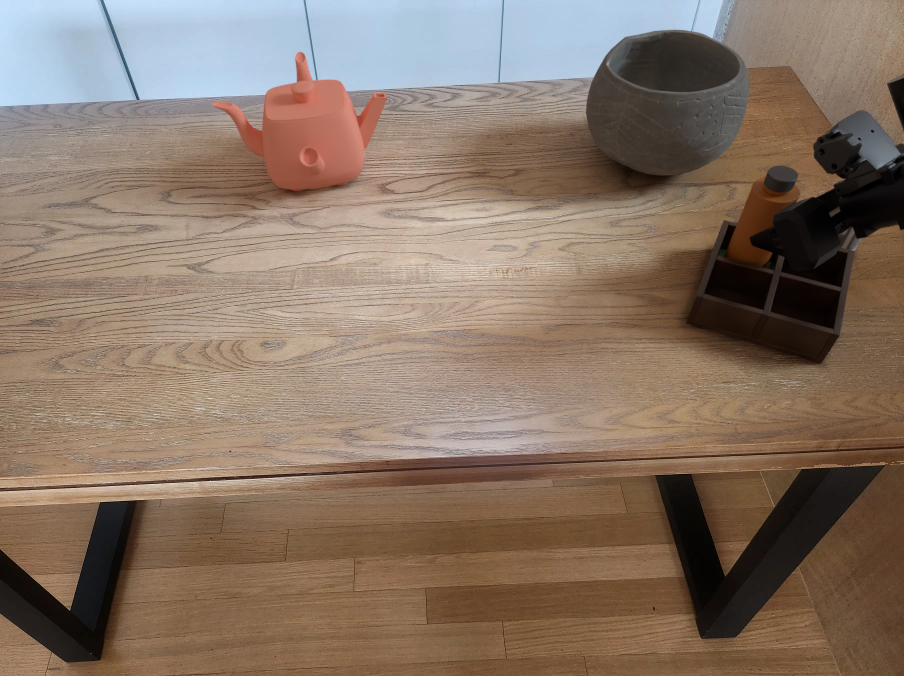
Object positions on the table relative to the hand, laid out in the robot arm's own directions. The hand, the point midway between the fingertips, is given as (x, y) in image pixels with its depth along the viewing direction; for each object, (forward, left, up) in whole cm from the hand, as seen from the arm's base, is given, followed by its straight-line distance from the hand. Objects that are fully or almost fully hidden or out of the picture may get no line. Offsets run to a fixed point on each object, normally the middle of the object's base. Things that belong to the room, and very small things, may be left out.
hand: (778, 224), depth 75 cm
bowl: (+18, -21, -9) cm, 30 cm away
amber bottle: (+2, -1, -8) cm, 8 cm away
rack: (-2, +3, -9) cm, 10 cm away
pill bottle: (-8, -10, -9) cm, 16 cm away
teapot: (+64, +1, -9) cm, 65 cm away
